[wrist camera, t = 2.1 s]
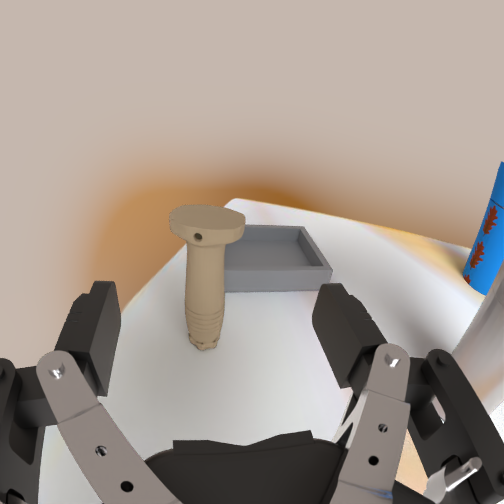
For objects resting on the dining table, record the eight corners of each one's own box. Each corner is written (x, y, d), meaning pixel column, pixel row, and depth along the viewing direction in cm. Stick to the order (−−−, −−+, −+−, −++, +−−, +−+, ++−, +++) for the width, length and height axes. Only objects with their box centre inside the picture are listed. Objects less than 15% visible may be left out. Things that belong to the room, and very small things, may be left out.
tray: (300, 243, 56) (303, 226, 54) (327, 290, 44) (332, 270, 42) (212, 242, 53) (212, 223, 51) (216, 292, 41) (217, 270, 39)
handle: (184, 321, 35) (182, 201, 28) (236, 332, 35) (249, 211, 27) (170, 349, 31) (160, 221, 24) (227, 363, 30) (238, 234, 23)
